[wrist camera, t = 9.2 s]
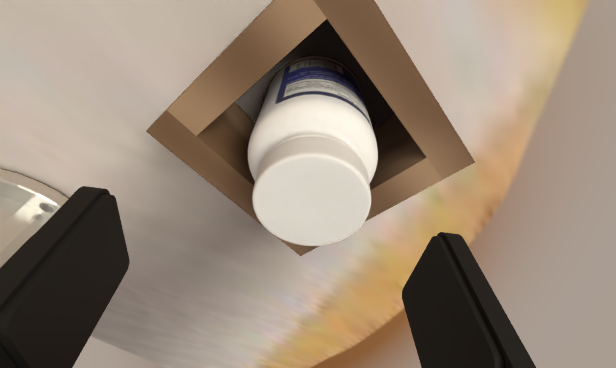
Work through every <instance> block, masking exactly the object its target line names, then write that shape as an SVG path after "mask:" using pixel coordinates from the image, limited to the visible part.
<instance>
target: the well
mask: <svg viewBox="0 0 616 368" xmlns="http://www.w3.org/2000/svg"><path fill="white" fill-rule="evenodd" d="M326 19H328V21H329V22H330V24H331V25H332V26H333V28H334V29H335V31H336V32H337V33H338V35H339V36H340V38H341V39H342V40H343V42H344V43H345V44H346V46H347V47H348V49H349V50H350V51H351V53H352V54H353V56H354V57H355V58H356V60H357V61H358V63H359V64H360V65H361V67H362V68H363V70H364V71H365V72H366V74H367V75H368V77H369V78H370V79H371V81H372V82H373V83H374V85H375V86H376V88H377V89H378V90H379V92H380V93H381V95H382V96H383V97H384V99H385V100H386V102H387V103H388V104H389V106H390V107H391V109H392V110H393V111H394V113H395V114H396V115H395V116H393V117H392V118H390V119H389V120H387V121H386V122H384V123H383V124H381V125H380V126H378V127H377V128H375V129H374V130H373V131H374V134H375V138H376V143H377V149H378V161H377V167H376V171H375V173H374V176H373V178H372V180H371V182H370V184H369V185H370V191H371V207H370V211H369V214H368V216H367V218H366V220H365V221H367V220H369V219H370V218H372V217H374V216H376V215H378V214H380V213H382V212H383V211H385V210H387V209H389V208H391V207H393V206H395V205H396V204H398V203H400V202H402V201H404V200H406V199H408V198H409V197H411V196H413V195H415V194H417V193H419V192H421V191H422V190H424V189H426V188H428V187H430V186H432V185H434V184H435V183H437V182H439V181H441V180H443V179H445V178H447V177H449V176H450V175H452V174H454V173H456V172H458V171H460V170H462V169H463V168H465V167H467V166H469V165H471V164H473V163H475V161H474V160H473V158H472V156H471V155H470V153H469V152H468V150H467V148H466V147H465V145H464V144H463V142H462V140H461V139H460V137H459V136H458V134H457V132H456V131H455V129H454V128H453V126H452V124H451V123H450V121H449V119H448V118H447V116H446V115H445V113H444V111H443V110H442V108H441V107H440V105H439V103H438V102H437V100H436V99H435V97H434V95H433V94H432V92H431V91H430V89H429V87H428V86H427V84H426V83H425V81H424V79H423V78H422V76H421V75H420V73H419V71H418V70H417V68H416V67H415V65H414V63H413V62H412V60H411V59H410V57H409V55H408V54H407V52H406V50H405V49H404V47H403V46H402V44H401V42H400V41H399V39H398V38H397V36H396V34H395V33H394V31H393V30H392V28H391V26H390V25H389V23H388V22H387V20H386V18H385V17H384V15H383V14H382V12H381V10H380V9H379V7H378V6H377V4H376V2H375V1H374V0H273V1H272V2H271V3H270V4H269V5H268V6H267V7H266V8H265V9H264V10H263V11H262V12H261V13H260V14H259V15H258V16H257V17H256V18H255V19H254V20H253V21H252V23H251V24H250V25H249V26H248V27H247V28H246V29H245V30H244V31H243V32H242V33H241V34H240V35H239V36H238V37H237V38H236V39H235V40H234V41H233V42H232V43H231V44H230V45H229V46H228V47H227V48H226V49H225V50H224V51H223V52H222V53H221V54H220V55H219V56H218V57H217V58H216V59H215V60H214V61H213V62H212V63H211V64H210V65H209V66H208V67H207V68H206V69H205V70H204V71H203V72H202V73H201V74H200V75H199V76H198V77H197V78H196V79H195V80H194V82H193V83H192V84H191V85H190V86H189V87H188V88H187V89H186V90H185V91H184V92H183V93H182V94H181V95H180V96H179V97H178V98H177V99H176V100H175V101H174V102H173V103H172V104H171V105H170V106H169V107H168V109H167V110H166V111H165V112H164V113H163V114H162V115H161V116H160V117H159V118H158V119H157V120H156V121H155V122H154V123H153V124H152V125H151V126H150V127H149V128H148V130H147V131H146V132H147V133H149V134H150V135H151V136H152V137H154V138H155V139H156V140H157V141H159V142H160V143H161V144H162V145H164V146H165V147H166V148H167V149H168V150H170V151H171V152H172V153H173V154H175V155H176V156H177V157H178V158H180V159H181V160H182V161H183V162H185V163H186V164H187V165H188V166H190V167H191V168H192V169H193V170H194V171H196V172H197V173H198V174H199V175H201V176H202V177H203V178H204V179H206V180H207V181H208V182H209V183H211V184H212V185H213V186H214V187H216V188H217V189H218V190H219V191H221V192H222V193H223V194H224V195H225V196H227V197H228V198H229V199H230V200H232V201H233V202H234V203H235V204H237V205H238V206H239V207H240V208H242V209H243V210H244V211H245V212H247V213H248V214H249V215H250V216H251V217H253V218H254V219H255V220H256V221H258V222H259V223H260V224H261V225H262V223H261V222H260V221H259V220H258V218H257V216H256V213H255V211H254V207H253V201H252V193H253V188H254V184H255V180H254V179H253V176H252V174H251V171H250V168H249V164H248V145H249V140H250V136H251V133H252V130H253V128H254V125H255V122H254V121H253V120H252V119H251V118H250V117H249V116H248V115H247V114H246V113H245V112H244V111H243V110H242V109H241V108H240V107H239V106H238V105H237V104H236V103H235V101H236V100H237V99H238V98H239V97H240V96H241V95H242V94H244V93H245V92H246V91H247V90H248V89H249V88H250V87H251V86H252V85H254V84H255V83H256V82H257V81H258V80H259V79H260V78H261V77H262V76H264V75H265V74H266V73H267V72H268V71H269V70H270V69H271V68H273V67H274V66H275V65H276V64H277V63H278V62H279V61H280V60H281V59H283V58H284V57H285V56H286V55H287V54H288V53H289V52H290V51H291V50H293V49H294V48H295V47H296V46H297V45H298V44H299V43H300V42H301V41H303V40H304V39H305V38H306V37H307V36H308V35H309V34H310V33H311V32H313V31H314V30H315V29H316V28H317V27H318V26H319V25H320V24H321V23H323V22H324V21H325V20H326ZM276 237H277V236H276ZM277 238H278V237H277ZM279 239H280V238H279ZM280 240H281V241H282V242H284V243H285V244H286V245H287V246H289V247H290V248H291V249H292V250H294V251H295V252H296V253H297V254H299V255H300V256H302V255H303V254H305V253H307V252H309V251H311V250H313V249H315V248H316V247H318V246H304V245H298V244H294V243H290V242H288V241H285V240H283V239H280Z"/></svg>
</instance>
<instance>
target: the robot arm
mask: <svg viewBox="0 0 616 368" xmlns="http://www.w3.org/2000/svg"><path fill="white" fill-rule="evenodd" d="M128 266H129V256H128V252H127V247H126V243H125V238H124V234H123V229H122V225H121V220H120V216H119V211H118V207H117V202H116V198H115V196H113V195H110V193H109V191H108V190H107V189H102V188H94V187H86V186H83V187H81V188H79V189H78V190H77V191H76V192H75V193H74V194H73V195H72V196H71V197H70V198H69V199H68V198H67V197H65V196H64V195H62V194H61V193H59V192H58V191H56V190H54V189H52V188H50V187H48V186H46V185H44V184H42V183H40V182H38V181H36V180H33V179H31V178H28V177H26V176H23V175H21V174H18V173H14V172H10V171H7V170H3V169H0V368H72V367H73V365H74V363H75V361H76V360H77V358H78V356H79V355H80V353H81V351H82V349H83V347H84V346H85V344H86V342H87V340H88V339H89V337H90V335H91V333H92V332H93V330H94V328H95V326H96V325H97V323H98V321H99V319H100V318H101V316H102V314H103V312H104V311H105V309H106V307H107V305H108V303H109V302H110V300H111V298H112V296H113V295H114V293H115V291H116V289H117V288H118V286H119V284H120V282H121V281H122V279H123V277H124V275H125V273H126V272H127V269H128ZM402 300H403V303H404V307H405V311H406V314H407V318H408V321H409V325H410V328H411V332H412V335H413V339H414V342H415V346H416V349H417V353H418V356H419V360H420V363H421V367H422V368H536V367H535V365H534V363H533V361H532V359H531V358H530V356H529V354H528V352H527V351H526V349H525V347H524V345H523V344H522V342H521V340H520V338H519V336H518V335H517V333H516V331H515V329H514V328H513V326H512V324H511V322H510V320H509V319H508V317H507V315H506V313H505V312H504V310H503V308H502V306H501V304H500V303H499V301H498V299H497V297H496V296H495V294H494V292H493V290H492V288H491V287H490V285H489V283H488V281H487V279H486V278H485V276H484V274H483V272H482V271H481V269H480V267H479V266H478V263H477V262H476V260H475V258H474V256H473V255H472V253H471V251H470V249H469V248H468V246H467V244H466V242H465V240H464V239H463V237H462V236H461V235H459V234H451V233H444V232H440V233H439V234H438V235H437V236H434V237H432V238H431V240H430V242H429V244H428V245H427V247H426V249H425V251H424V252H423V254H422V256H421V258H420V260H419V261H418V263H417V265H416V267H415V268H414V270H413V272H412V274H411V275H410V277H409V279H408V281H407V283H406V284H405V286H404V288H403V291H402Z"/></svg>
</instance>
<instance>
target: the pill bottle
mask: <svg viewBox="0 0 616 368" xmlns="http://www.w3.org/2000/svg"><path fill="white" fill-rule="evenodd" d="M377 161H378V149H377V143H376V138H375V134H374V131H373V127H372V124H371V121H370V118H369V115H368V111H367V108H366V105H365V101H364V98H363V95H362V92H361V89H360V86H359V84H358V82H357V80H356V78H355V77H354V75H353V74H352V73H351V72H350V71H349V70H348V69H347V68H346V67H345V66H344V65H342V64H341V63H339V62H337V61H335V60H333V59H330V58H327V57H322V56H307V57H302V58H299V59H296V60H294V61H292V62H290V63H288V64H287V65H286V66H284V67H283V68H282V69H281V70H280V71H279V72H278V73H277V74H276V75H275V76H274V78H273V79H272V81H271V83H270V85H269V88H268V90H267V92H266V95H265V98H264V101H263V104H262V106H261V109H260V112H259V114H258V117H257V120H256V122H255V125H254V128H253V130H252V133H251V136H250V140H249V145H248V164H249V168H250V171H251V174H252V176H253V179H254V180H255V184H254V188H253V193H252V201H253V207H254V211H255V213H256V216H257V218H258V220H259V221H260V222H261V223H262V225H263V226H264V227H265V228H266V229H267V230H268V231H269V232H271V233H272V234H274V235H275V236H277V237H278V238H280V239H283V240H285V241H288V242H290V243H294V244H298V245H304V246H322V245H328V244H332V243H335V242H338V241H341V240H343V239H345V238H347V237H349V236H350V235H352V234H353V233H355V232H356V231H357V230H358V229H359V228H360V227H361V226H362V225H363V223H364V222H365V220H366V218H367V216H368V214H369V211H370V207H371V191H370V185H369V184H370V182H371V180H372V178H373V176H374V173H375V171H376V167H377Z"/></svg>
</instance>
